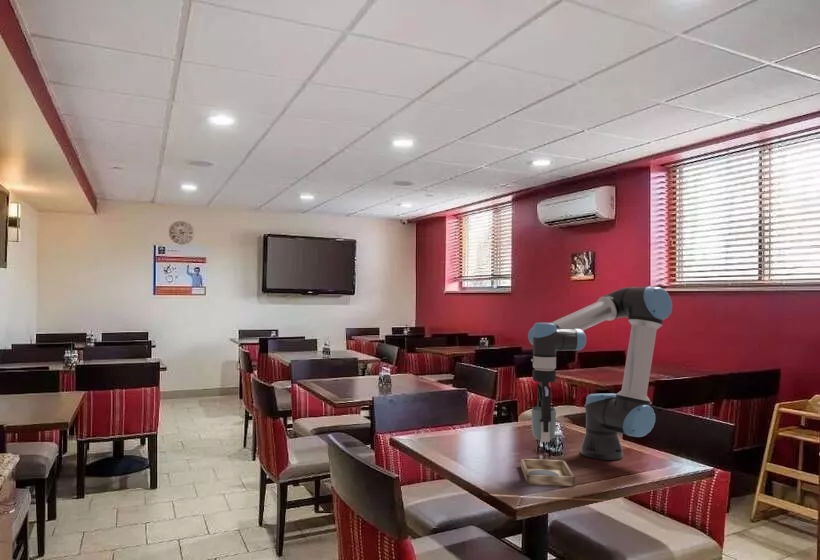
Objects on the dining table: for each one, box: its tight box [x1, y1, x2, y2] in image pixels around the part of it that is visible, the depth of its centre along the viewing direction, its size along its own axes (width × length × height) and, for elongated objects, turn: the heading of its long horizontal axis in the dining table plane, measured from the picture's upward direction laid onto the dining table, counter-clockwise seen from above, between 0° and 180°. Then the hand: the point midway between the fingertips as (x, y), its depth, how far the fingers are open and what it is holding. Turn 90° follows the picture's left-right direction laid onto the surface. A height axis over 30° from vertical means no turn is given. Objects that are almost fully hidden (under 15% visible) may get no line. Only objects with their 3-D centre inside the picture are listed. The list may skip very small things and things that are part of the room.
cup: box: [531, 406, 557, 441], centre depth 190 cm, size 8×8×10 cm
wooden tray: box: [520, 458, 576, 487], centre depth 189 cm, size 15×19×3 cm
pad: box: [528, 470, 559, 476], centre depth 189 cm, size 10×10×1 cm
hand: (543, 438), depth 190 cm, fingers closed on cup, 8 cm apart
